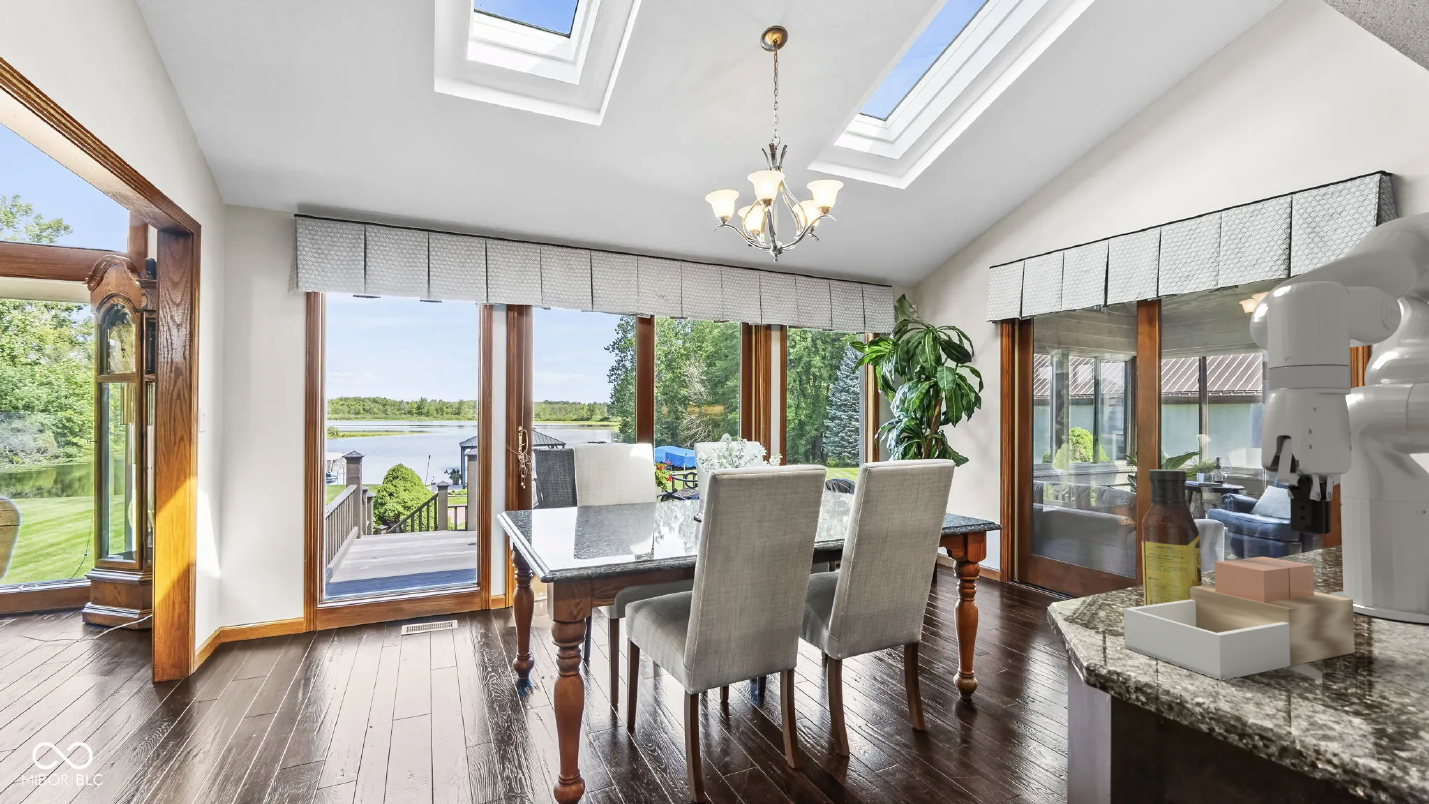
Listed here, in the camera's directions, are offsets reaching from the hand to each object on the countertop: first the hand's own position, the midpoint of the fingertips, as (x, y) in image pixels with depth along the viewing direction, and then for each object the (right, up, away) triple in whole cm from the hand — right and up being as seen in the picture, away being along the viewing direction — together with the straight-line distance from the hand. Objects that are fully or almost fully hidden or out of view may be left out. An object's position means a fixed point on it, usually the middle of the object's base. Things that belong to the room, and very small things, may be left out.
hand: (1310, 531), depth 78 cm
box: (-19, -12, -8) cm, 24 cm away
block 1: (-11, -7, -4) cm, 13 cm away
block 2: (-6, -7, -3) cm, 10 cm away
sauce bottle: (-14, -13, +5) cm, 19 cm away
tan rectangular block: (-8, -13, -3) cm, 15 cm away
